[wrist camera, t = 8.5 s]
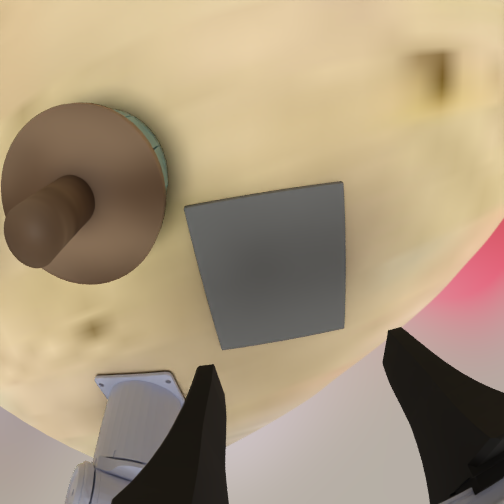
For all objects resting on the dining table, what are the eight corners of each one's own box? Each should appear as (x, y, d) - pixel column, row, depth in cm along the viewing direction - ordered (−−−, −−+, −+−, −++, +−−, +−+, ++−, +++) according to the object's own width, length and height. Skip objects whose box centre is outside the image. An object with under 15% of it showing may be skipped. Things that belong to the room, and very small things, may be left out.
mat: (342, 325, 25) (344, 328, 25) (221, 346, 25) (221, 350, 25) (341, 181, 20) (343, 183, 19) (184, 206, 20) (183, 208, 19)
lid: (191, 253, 17) (180, 313, 12) (51, 291, 18) (16, 344, 13) (132, 72, 12) (89, 62, 8) (-11, 148, 13) (-70, 173, 8)
